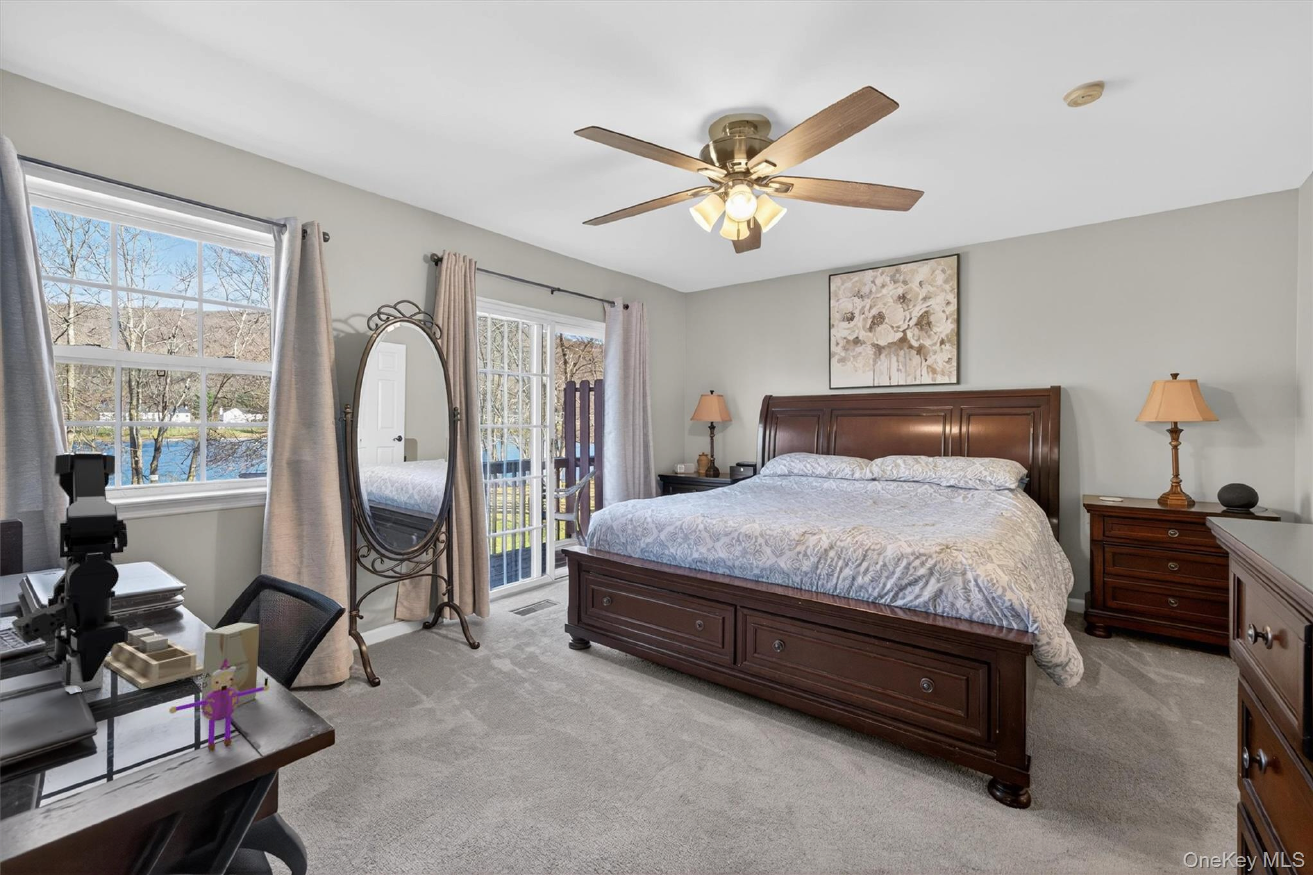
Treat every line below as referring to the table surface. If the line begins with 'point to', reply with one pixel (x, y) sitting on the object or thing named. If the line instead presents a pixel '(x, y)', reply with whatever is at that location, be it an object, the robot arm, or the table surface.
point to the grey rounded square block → (79, 674)
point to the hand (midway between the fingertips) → (84, 679)
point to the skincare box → (232, 657)
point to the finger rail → (151, 659)
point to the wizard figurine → (219, 700)
